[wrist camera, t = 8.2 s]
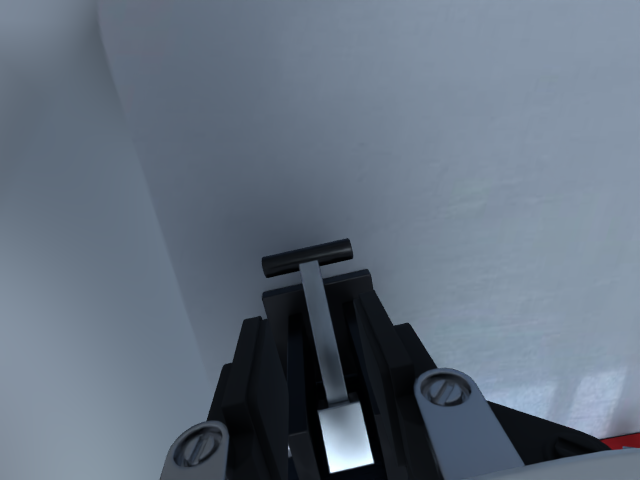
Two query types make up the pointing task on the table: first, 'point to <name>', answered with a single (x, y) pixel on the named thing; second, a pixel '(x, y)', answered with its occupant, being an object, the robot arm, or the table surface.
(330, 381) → the toaster lever
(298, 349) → the lever bracket
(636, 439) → the mug
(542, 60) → the table surface
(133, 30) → the table surface
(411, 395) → the robot arm
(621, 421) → the table surface
